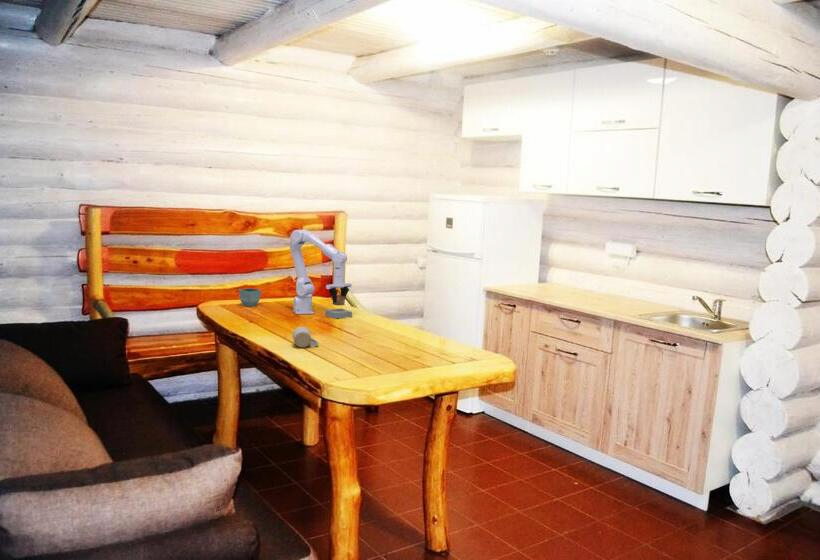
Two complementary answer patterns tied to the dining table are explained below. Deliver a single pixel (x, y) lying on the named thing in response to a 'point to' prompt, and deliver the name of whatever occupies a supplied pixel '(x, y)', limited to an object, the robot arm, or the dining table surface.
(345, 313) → the base block
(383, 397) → the dining table surface
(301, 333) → the ceramic mug
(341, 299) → the walnut cube
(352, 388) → the dining table surface
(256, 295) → the flower pot
